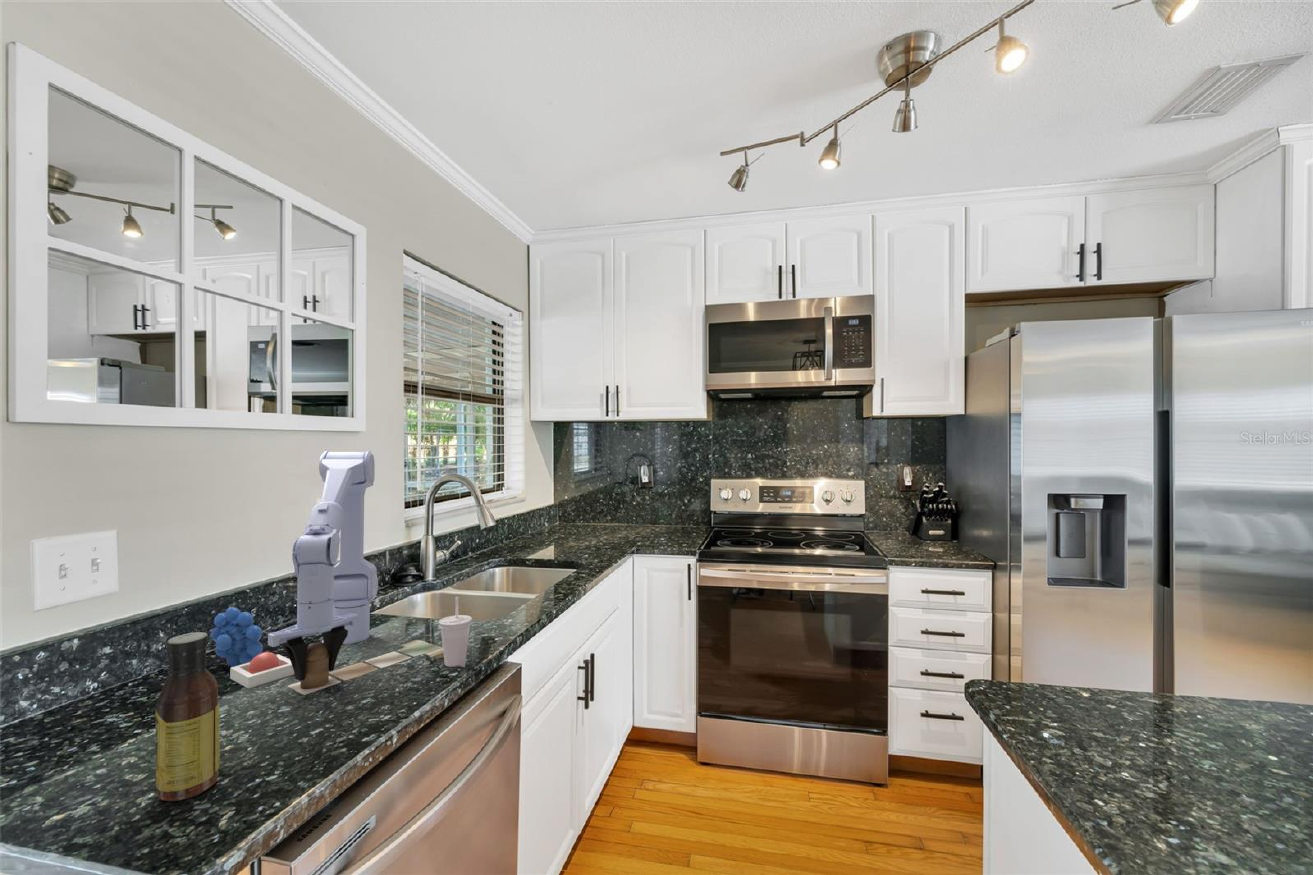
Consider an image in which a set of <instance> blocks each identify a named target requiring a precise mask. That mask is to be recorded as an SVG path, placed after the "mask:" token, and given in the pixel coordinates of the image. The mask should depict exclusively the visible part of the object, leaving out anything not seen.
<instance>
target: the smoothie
mask: <svg viewBox="0 0 1313 875" xmlns="http://www.w3.org/2000/svg"><path fill="white" fill-rule="evenodd" d="M472 624H473V618H472V616H470V615H468V614H466V615H465V614H459V596H456V597H455V615H449V616H445V617H442V618H441V619H439V621H438V628H440V635H441V642H442V644H441V645H442V648H443V653H444V657H443V659H444V660H443V661H444V665H445V666H446V667H449V668H451V667H462V668H466V664H467V663H466V662H467V661H466V660H467V654H468V646H469V638H470V633H471V632H470V631H471V625H472Z"/></svg>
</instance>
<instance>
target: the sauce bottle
mask: <svg viewBox="0 0 1313 875" xmlns="http://www.w3.org/2000/svg"><path fill="white" fill-rule="evenodd" d="M208 635H209V634H208V633H206V632H200V631H197V632H188V633H184V634H181V635H176V636H174V637H171V638H169V639H168V640H167V642H166V653H167V654H168V670H167V676H166V679H165V682H164V684H163V686H162V689H161V691H160V694H159V696H158V699H157V702H156V704H155V787H156V790H157V792H156V793H157V796H158V799H160V801H165V802H178V801H184V800H188V799H191V798H194V797H197V796H199V795H200V794H202V793H203V792H205V791H207V790H208V789H210V788H212V787H213V786H214V785H215V784H216V783H217V782H218V779H219V778H218V777H219V776H218V775H219V768H220V700H219V697H218V695H219V686H218V681H217V679H216V677H214V674H213V673H212V672H210V670H208V669H207V665H208V662H207V646H208V644H209V636H208Z"/></svg>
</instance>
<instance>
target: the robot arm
mask: <svg viewBox="0 0 1313 875" xmlns="http://www.w3.org/2000/svg"><path fill="white" fill-rule="evenodd" d="M319 457H320V458H319V460H318V461H319V463H318V471H319V474H320V475H319V476H320V477H321V480H322V482H323V483H324V485H323V491H322V496H321V500H320V503H317V504H315V505H314V506H313V507H312V508H311V511H310V514H309V517H308V519H307V522H306V526H305V529H304V531H303V534H302V535H301V536H300V537H297V538H296V539H295V540H294V543H293V546H292V553H291V556H292V557H291V558H292V563H293V567H294V577H296V578H297V586H296V587H297V593H296V596H297V598H296V600H297V601H296V604H297V605H296V607H297V608H296V624H294V625H291V626H289V627H285V628H283V629H281V630H280V629H279V630H278V631H275V632H274V631H273V632H270V633H268V634H267V646H269V647H272V648H274V647H278V646H281V647H282V649H283V650H284V652H285V653H286V654H287V656H288V659H290V661H291V664H292V667H293V670H294V679H295V680H297V681H299V682H300V681H302V680H305V660H306V653H307V649H308V646H309V644H308V643H306V642H305V640H304V639H305V638H307V637H311V636H316V635H319V634H321V635H322V640H321V643H322V644H324V645H325V646H326V647H327V649H328V654H329V672H332V671H335V665H336V662H337V659H338V656H339V652H340V650H341V647H342V646H343V645H349V644H355V643H358V642H362V641H365V640H367V639H369V638H370V619H371V618H370V616H371V615H370V614H371V613H370V612H371V611H370V610H371V609H370V608H371V607H370V606H371V605H370V604H371V602H372V601H375V600H374V599H375V598H376V597H377V595H378V590H379V580H378V574H377V573H378V569H377V567H376V565H374V564H373V562H372V563H371V562H370V561H369V560H366V559H365V558H364V546H365V544H364V540H365V539H364V536H365V532H364V530H365V494H366V490H367V489H368V488H370V487H373V486H374V482H375V469H376V468H375V457H374V454H373V453H372V452H371V451H369V450H367V451H328V450H326V451H323V453H321V455H320V456H319ZM338 558H339V562H338Z"/></svg>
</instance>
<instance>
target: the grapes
mask: <svg viewBox="0 0 1313 875" xmlns="http://www.w3.org/2000/svg"><path fill="white" fill-rule="evenodd" d="M213 623H214V625H215V627H214V628H213V629H212V630H211V632H210V638H211V640H212V641H214V643H215V646H216V648H215V654H216V655H217V656H218V657H220V658H223V659H225V658H226V663H227V664H228V666H229V667H230V668H231V667H235V666H238V665H242V664H246V663H249V662H251V661H252V659H253V658H254V657H255V656H257V655H259V654H261V653H263V650H264V645H263V644H262V642H260V641H259V640H261V638H262V636H263V630H262V628H261V626H258V625H255V624H253V623H254V616H253V615H252V613H250V612H249V611H248V612H247V611H243V612H242V611H241V610H240V609H239V608H237V607H233V606H231V607H229V608H228V607H227V609H225V612H220V613H218V614H217V615H215V617H214V619H213Z"/></svg>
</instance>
